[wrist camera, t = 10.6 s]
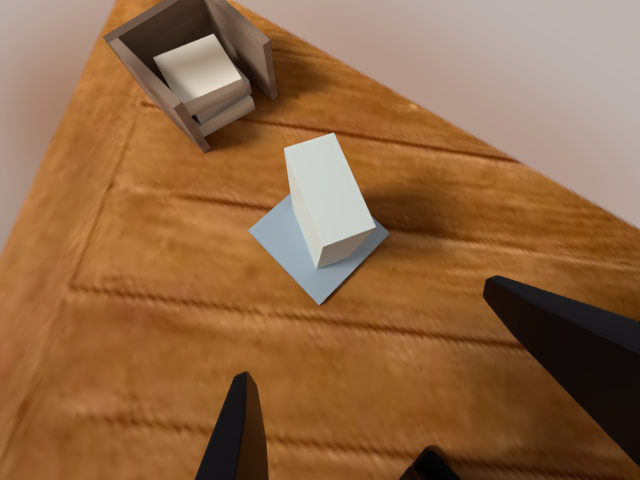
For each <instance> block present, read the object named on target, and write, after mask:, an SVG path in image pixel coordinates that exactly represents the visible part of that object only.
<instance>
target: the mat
mask: <svg viewBox="0 0 640 480" xmlns="http://www.w3.org/2000/svg"><path fill="white" fill-rule="evenodd" d="M371 217H372V216H371ZM372 219H373V221H374V224H375V226H376V228H375V229H374V230H373V231H372V232H371V233H370V234H369V235H368V236H367V237H366V239H365V240H364V241H363V242H362V243H361V244H360V245H359V246H358V247H357V248H356V249H355V250H354V252H353V253H352V254H351V255H350V256H349V257H348V258H345V259H342V260H340V261H337V262H334V263H332V264H329V265H327V266H324V267H321V268H319V269H316V267H315V264H314V262H313V259H312V257H311V254H310V251H309V249H308V246H307V244H306V241H305V238H304V236H303V233H302V231H301V228H300V225H299V223H298V220H297V218H296V215H295V212H294V210H293V206H292V199H291V193H290V194H289V195H288V196H287V197H286V198H285V199H283V200H282V201H281V202H280V203H279V204H278V205H277V206H275V207H274V208H273V209H272V210H271V211H270V212H269V213H267V214H266V215H265V216H264V217H263V218H262V219H261V220H259V221H258V222H257V223H256V224H255V225H254V226H253V227H251V228H250V229H249V230H248V231H249V233H250V234H251V235H252V236H253V237H254V238H255V239H256V240H257V241H258V242H259V243H260V244H261V245H262V246H263V247H264V248H265V249H266V250H267V251H268V252H269V253H270V255H271V256H272V257H273V258H274V259H275V260H276V261H277V262H278V263H279V264H280V265H281V266H282V267H283V268H284V269H285V270H286V271H287V272H288V273H289V274H290V275H291V276H292V277H293V279H294V280H295V281H296V282H297V283H298V284H299V285H300V286H301V287H302V288H303V289H304V290H305V291H306V292H307V293H308V294H309V295H310V296H311V297H312V298H313V299H314V300H315V302H316V303H317V304H318V305H320V304H321V303H322V302H323V301H324V300H325V299H326V298H327V297H328V296H329V295H330V294H331V293H332V292H333V291H334V290H335V289H336V288H337V287H338V286H339V285H340V284H341V283H342V282H343V281H344V280H345V279H346V278H347V277H348V276H349V275H350V274H351V272H352V271H353V270H354V269H355V268H356V267H357V266H358V265H359V264H360V263H361V262H362V261H363V260H364V259H365V258H366V257H367V256H368V255H369V254H370V253H371V252H372V251H373V250H374V249H375V248H376V247H377V246H378V245H379V244H380V243H381V242H382V241H383V240H384V239H385V238H386V237H387V236H388V235H389V234H390V233H389V232H388V231H387V230H386V229H385V228H384V227H383V226H382V225H381V224H380V223H379V222H377V221H376V220H375V219H374V218H373V217H372Z"/></svg>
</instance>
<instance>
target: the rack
mask: <svg viewBox="0 0 640 480" xmlns="http://www.w3.org/2000/svg"><path fill="white" fill-rule="evenodd" d="M212 34H214V35H215V37H216V38H217V40H218V42H219V43H220V45H221V46H222V48H223V49H224V51H225V53H226V54H227V56H228V57H229V59H230V60H231V61H232V62H233V63H234V64H235V66H236V67H237V68H238V69H239V70H240V71H241V72H242V73H243V74H244V75H245V76H246V77H247V78H248V79H249V80H251V81H252V82H253V83H254V84H255V85H256V86H257V87H258V88H259V89H260V90H261V91H262V92H263V93H264V94H266V95H267V96H268V97H269V98H270V99H271V100H272V101H273V100H274V99H275V98H277V97H278V92H277V85H276V78H275V70H274V63H273V56H272V49H271V41H270V39H269V38H268V37H266V36H265V35H264V34H263V33H262V32H261V31H260V30H259V29H257V28H256V27H255V26H254V25H253V24H252V23H251V22H250V21H248V20H247V19H246V18H245V17H244V16H243V15H242V14H241V13H239V12H238V11H237V10H236V9H235V8H234V7H233V6H231V5H230V4H229V3H228V2H227V1H226V0H163V1H162V2H160V3H158V4H157V5H155V6H153V7H152V8H150V9H148V10H147V11H145V12H143V13H141V14H140V15H138V16H136V17H135V18H133V19H131V20H130V21H128V22H126V23H125V24H123V25H121V26H120V27H118V28H116V29H115V30H113V31H111V32H110V33H108V34H106V35H105V36H103V38H104V39H105V41H106V42H107V43H108V45H109V46H110V47H111V48H112V50H113V51H114V52H115V54H116V55H117V56H118V58H119V59H120V60H121V61H122V63H123V64H124V65H125V67H126V68H127V69H128V71H129V72H130V73H131V75H132V76H133V77H134V78H135V80H136V81H137V82H138V84H139V85H140V86H141V88H142V89H143V90H144V91H145V93H146V94H147V95H148V96H149V97H150V98H151V99H152V100H153V102H154V103H155V104H156V105H157V106H158V107H159V108H160V109H161V110H162V111H163V112H164V113H165V114H166V115H167V116H168V117H169V118H170V119H171V120H172V121H173V122H174V123H175V124H176V125H177V126H178V127H179V128H180V129H181V130H182V131H183V132H184V133H185V134H186V135H187V136H188V137H189V138H190V139H191V140H192V141H193V142H194V143H195V144H196V145H197V146H198V147H199V148H200V149H201V150H202V151H203V152H204V153H205V152H206V151H207V150H209V149H210V146H209V145H208V143H207V141H206V140H205V138H204V137H203V135H202V133H201V132H200V130H199V128H198V127H197V125H196V124H195V122H194V120H193V119H192V117H191V116H190V114H189V112H188V111H187V109H186V108H185V106H184V104H183V103H182V101H181V100H180V99H179V98H178V97H177V96H176V95H175V94H174V93H173V92H172V91H171V90H170V88H169V85H168V83H167V82H166V80H165V78H164V77H163V75H162V73H161V71H160V69H159V67H158V66H157V64H156V62H155V60H154V59H153V57H156V56H158V55H161V54H163V53H166V52H169V51H171V50H174V49H176V48H179V47H181V46H184V45H186V44H189V43H191V42H194V41H196V40H199V39H202V38H204V37H207V36H209V35H212Z"/></svg>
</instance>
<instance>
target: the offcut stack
mask: <svg viewBox="0 0 640 480" xmlns="http://www.w3.org/2000/svg"><path fill="white" fill-rule="evenodd" d="M153 59H154V60H155V62H156V64H157V66H158V67H159V69H160V71H161V73H162V75H163V77H164V78H165V80H166V82H167V83H168V85H169V88H170V90H171V91H172V92H173V93H174V94H175V95H176V96H177V97H178V98H179V99H180V100H181V101H182V103H183V104H184V106H185V108H186V109H187V111H188V112H189V114H190V116H191V117H192V119H193V120H194V122H195V124H196V125H197V127H198V128H199V130H200V132H201V133H202V135H203V137H205V136H207V135H209V134H211V133H212V132H214V131H216V130H218V129H220V128H222V127H224V126H225V125H227V124H229V123H231V122H233V121H235V120H237V119H238V118H240V117H242V116H244V115H246V114H248V113H250V112H251V111H253V110H255V105H254V101H253V99H252V97H251V96H250V94H251V93H252V90H251V87H250V83H249V80H248V79H247V78H246V77H245V75H244V74H243V73H242V72H241V71H240V70H239V69H238V68H237V67H236V66H235V64H234V63H233V62H232V61H231V60H230V59H229V57H228V56H227V54H226V53H225V51H224V49H223V48H222V46H221V45H220V43H219V42H218V40H217V38H216V37H215V35H214V34H212V35H209V36H207V37H204V38H202V39H199V40H196V41H194V42H191V43H189V44H186V45H184V46H181V47H179V48H176V49H174V50H171V51H169V52H166V53H163V54H161V55H158V56H156V57H153Z"/></svg>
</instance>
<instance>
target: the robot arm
mask: <svg viewBox="0 0 640 480" xmlns="http://www.w3.org/2000/svg"><path fill="white" fill-rule="evenodd" d="M483 297H484V299H485V301H486V302H487V303H488V305H489V306H490V307H491V308H492V310H493V311H494V312H495V313H496V315H497V316H498V317H499V318H500V320H501V321H502V322H503V323H504V325H505V326H506V327H507V328H508V330H509V331H510V332H511V333H512V334H513V336H514V337H515V338H516V339H517V340H518V341H519V342H520V343H521V344H522V345H523V346H524V347H525V348H526V349H527V350H528V351H529V352H530V354H531V355H532V356H533V357H534V358H535V359H536V360H537V361H538V362H539V363H540V364H541V365H542V366H543V367H544V368H545V369H546V370H547V371H548V372H549V373H550V374H551V375H552V377H553V378H554V379H555V380H556V381H557V382H558V383H559V384H560V385H561V386H562V387H563V388H564V389H565V390H566V391H567V392H568V393H569V394H570V395H571V396H572V397H573V398H574V399H575V401H576V402H577V403H578V404H579V405H580V406H581V407H582V408H583V409H584V410H585V411H586V412H587V413H588V414H589V415H590V416H591V417H592V418H593V419H594V420H595V421H596V422H597V423H598V425H599V426H600V427H601V428H602V429H603V430H604V431H605V432H606V433H607V434H608V435H609V436H610V437H611V438H612V439H613V440H614V441H615V442H616V443H617V444H618V445H619V446H620V448H621V449H622V450H623V451H624V452H625V453H626V454H627V455H628V456H629V457H630V458H631V459H632V460H633V461H634V462H635V463H636V464H637V465H638V466H639V468H640V321H638V322H637V321H636V320H634V319H631V318H628V317H625V316H622V315H619V314H616V313H613V312H610V311H607V310H604V309H600V308H597V307H594V306H591V305H588V304H585V303H582V302H579V301H576V300H573V299H570V298H567V297H564V296H561V295H557V294H554V293H551V292H548V291H545V290H542V289H539V288H536V287H533V286H530V285H527V284H524V283H521V282H518V281H514V280H511V279H508V278H505V277H502V276H498V275H496V276H493V277H490V278H488V279H486V281H485V286H484V291H483ZM430 454H432V457H431V458H430V459H428V455H430ZM195 480H269V477H268V461H267V446H266V437H265V430H264V424H263V418H262V412H261V406H260V400H259V394H258V389H257V385H256V383H255V382H254V380H253V378H252V377H251V375H250V374H249V372H247V371H245V372H242V373H240V374H237V375H236V376H235V377H234V378H233V381H232V384H231V386H230V389H229V391H228V394H227V397H226V399H225V402H224V404H223V407H222V410H221V412H220V415H219V417H218V420H217V422H216V425H215V428H214V430H213V433H212V435H211V438H210V441H209V443H208V446H207V448H206V451H205V454H204V456H203V459H202V461H201V464H200V467H199V469H198V472H197V474H196V477H195ZM399 480H461V479H460V478H459V477H458V476H457V475H456V474H455V473H454V472H453V471H452V469H451V468H450V467H449V466H448V465H447V464H446V463H445V462H444V461H443V460H442V459H441V458H440V457H439V456H438V455H437V454H436V453H435V451H434V450H433V449H431V448H425V449H424V450H423V451H422V453H421V454H420V455H419V457H418V458H417V459H416V461H415V462H414V463H413V465H412V466H411V467H409V468H408V469H407V470H406V471H405V473H404V474H403V475H402V477H401V478H400V479H399Z"/></svg>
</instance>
